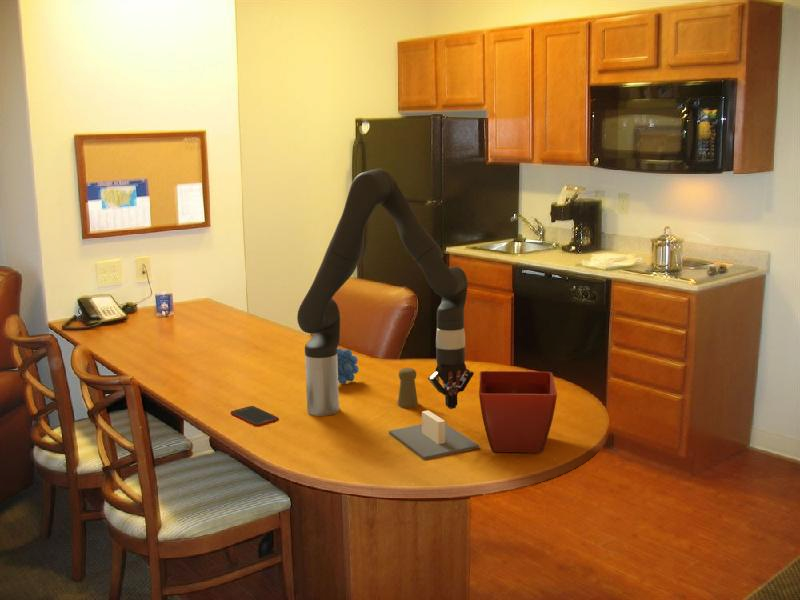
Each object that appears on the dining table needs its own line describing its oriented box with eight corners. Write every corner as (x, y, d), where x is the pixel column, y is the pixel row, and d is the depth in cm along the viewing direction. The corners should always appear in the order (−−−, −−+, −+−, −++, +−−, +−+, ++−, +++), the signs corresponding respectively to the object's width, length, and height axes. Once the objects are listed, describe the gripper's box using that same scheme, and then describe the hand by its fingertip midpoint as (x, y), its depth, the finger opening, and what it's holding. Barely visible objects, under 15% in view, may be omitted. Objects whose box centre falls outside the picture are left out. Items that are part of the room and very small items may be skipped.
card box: (421, 432, 229) (421, 411, 227) (428, 431, 230) (428, 410, 228) (438, 444, 221) (438, 422, 219) (445, 442, 222) (445, 420, 220)
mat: (388, 433, 231) (388, 430, 231) (440, 423, 238) (440, 420, 237) (423, 459, 213) (423, 456, 213) (478, 447, 220) (478, 445, 220)
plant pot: (479, 429, 233) (479, 369, 229) (550, 430, 231) (552, 371, 227) (478, 457, 214) (478, 393, 211) (555, 459, 213) (557, 394, 209)
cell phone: (252, 408, 253) (252, 405, 252) (280, 421, 242) (280, 418, 242) (229, 414, 248) (229, 411, 247) (257, 428, 237) (256, 425, 237)
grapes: (335, 391, 266) (334, 353, 263) (323, 385, 271) (322, 349, 268) (366, 383, 273) (365, 347, 270) (354, 378, 278) (353, 342, 275)
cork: (394, 406, 251) (394, 370, 249) (401, 400, 257) (401, 364, 254) (414, 408, 249) (413, 372, 247) (420, 402, 255) (420, 366, 252)
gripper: (465, 337, 228) (465, 399, 232) (421, 344, 223) (422, 408, 226) (480, 344, 222) (480, 407, 225) (435, 351, 216) (436, 416, 220)
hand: (451, 407), depth 226 cm, fingers closed
